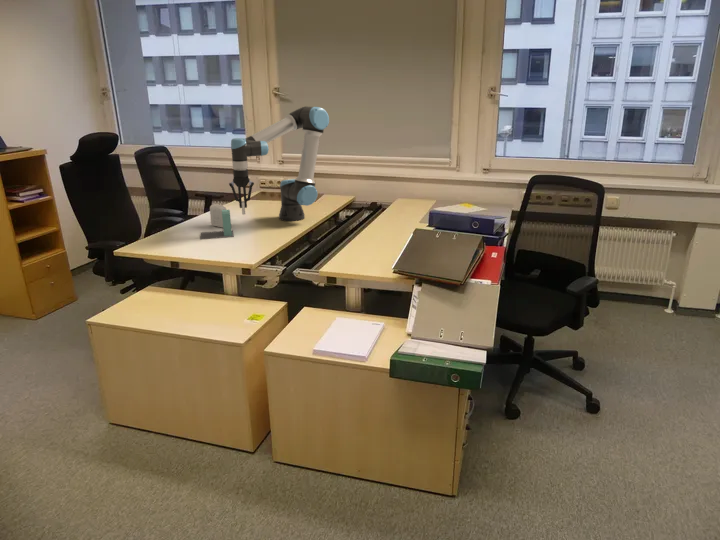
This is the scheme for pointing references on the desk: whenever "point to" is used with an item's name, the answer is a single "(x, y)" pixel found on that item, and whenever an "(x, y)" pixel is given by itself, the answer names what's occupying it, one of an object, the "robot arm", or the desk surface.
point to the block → (226, 222)
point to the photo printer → (216, 215)
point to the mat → (214, 235)
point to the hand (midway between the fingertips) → (243, 213)
